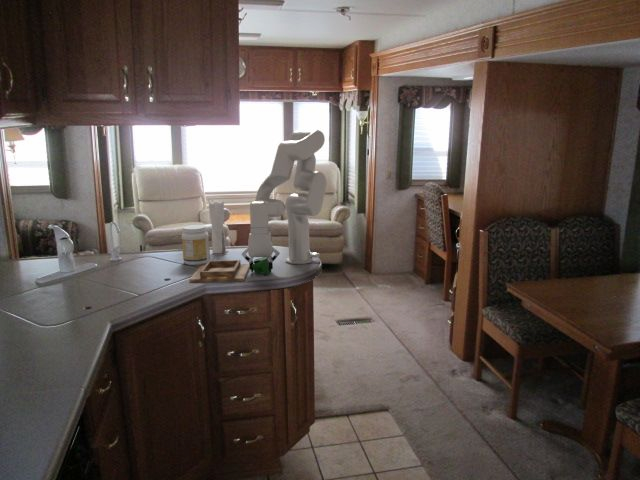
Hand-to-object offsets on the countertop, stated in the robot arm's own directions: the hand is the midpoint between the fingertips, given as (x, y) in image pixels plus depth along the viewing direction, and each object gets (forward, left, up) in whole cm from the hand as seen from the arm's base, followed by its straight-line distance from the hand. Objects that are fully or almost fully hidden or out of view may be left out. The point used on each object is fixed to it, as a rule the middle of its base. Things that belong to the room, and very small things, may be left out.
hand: (261, 270), depth 212 cm
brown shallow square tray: (+17, +1, -1) cm, 17 cm away
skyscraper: (+25, -39, -1) cm, 46 cm away
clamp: (0, 0, -1) cm, 1 cm away
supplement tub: (+32, -20, -1) cm, 38 cm away
